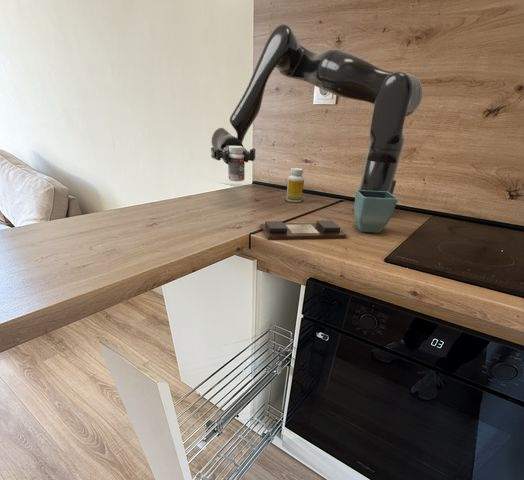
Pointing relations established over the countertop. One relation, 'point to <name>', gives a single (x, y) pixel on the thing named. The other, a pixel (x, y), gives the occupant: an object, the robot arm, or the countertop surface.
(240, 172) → the pill bottle
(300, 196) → the supplement bottle
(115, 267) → the countertop surface
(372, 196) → the flower pot
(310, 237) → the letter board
